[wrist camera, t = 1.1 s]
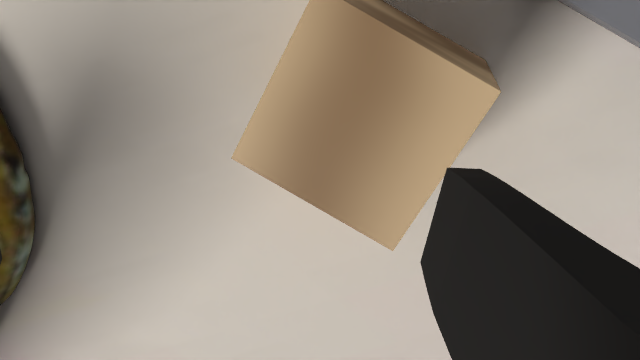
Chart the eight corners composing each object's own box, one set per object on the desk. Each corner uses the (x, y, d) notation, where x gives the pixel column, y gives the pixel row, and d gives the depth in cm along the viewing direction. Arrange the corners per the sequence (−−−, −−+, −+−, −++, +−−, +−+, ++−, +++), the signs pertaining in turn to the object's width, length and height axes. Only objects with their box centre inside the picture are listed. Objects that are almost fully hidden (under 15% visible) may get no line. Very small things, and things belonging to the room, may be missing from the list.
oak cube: (485, 60, 18) (501, 91, 14) (402, 186, 20) (392, 251, 16) (347, -20, 18) (317, -16, 14) (278, 114, 20) (231, 158, 16)
